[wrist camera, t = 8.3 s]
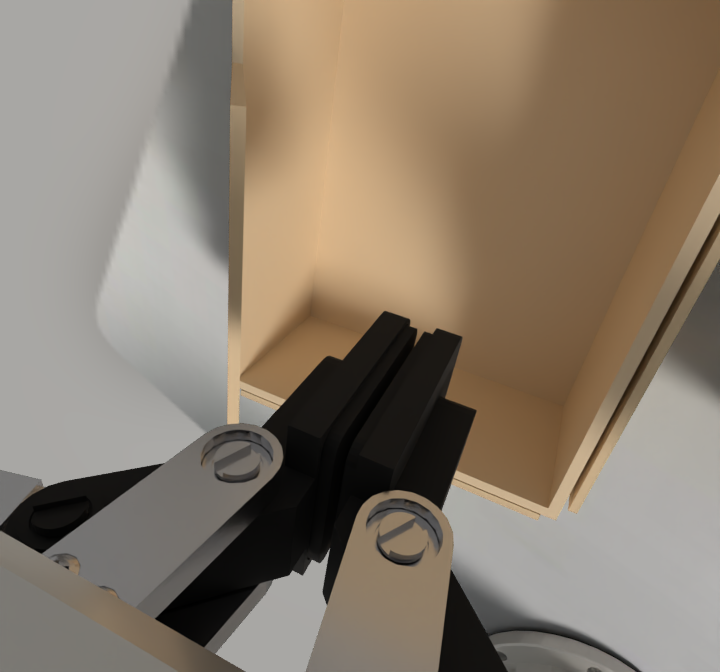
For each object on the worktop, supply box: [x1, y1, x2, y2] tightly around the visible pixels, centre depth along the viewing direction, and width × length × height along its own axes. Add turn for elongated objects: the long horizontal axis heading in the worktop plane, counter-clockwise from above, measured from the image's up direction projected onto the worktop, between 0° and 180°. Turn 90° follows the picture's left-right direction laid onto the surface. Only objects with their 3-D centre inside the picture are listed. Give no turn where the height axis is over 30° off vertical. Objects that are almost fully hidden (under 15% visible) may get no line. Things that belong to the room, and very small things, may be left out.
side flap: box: [227, 63, 246, 425], centre depth 15 cm, size 10×1×7 cm
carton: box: [232, 0, 720, 520], centre depth 19 cm, size 19×15×7 cm
